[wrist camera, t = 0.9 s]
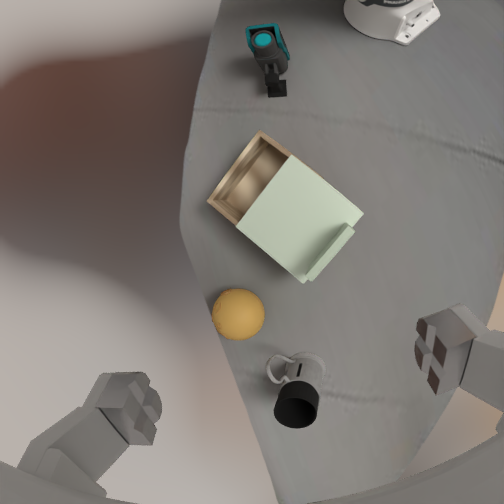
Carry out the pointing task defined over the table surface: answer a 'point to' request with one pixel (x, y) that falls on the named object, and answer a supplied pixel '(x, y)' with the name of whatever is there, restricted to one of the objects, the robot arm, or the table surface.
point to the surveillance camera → (269, 55)
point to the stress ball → (238, 314)
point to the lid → (300, 220)
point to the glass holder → (298, 389)
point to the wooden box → (249, 177)
